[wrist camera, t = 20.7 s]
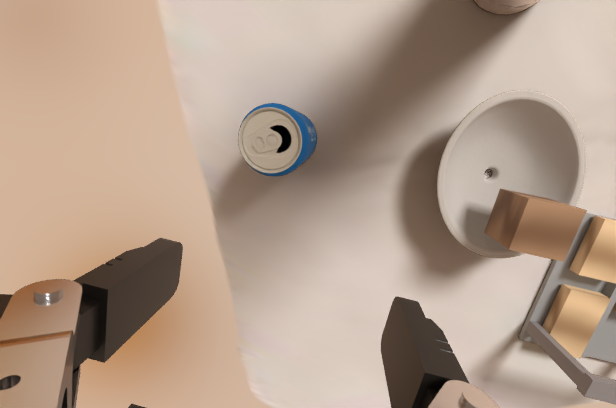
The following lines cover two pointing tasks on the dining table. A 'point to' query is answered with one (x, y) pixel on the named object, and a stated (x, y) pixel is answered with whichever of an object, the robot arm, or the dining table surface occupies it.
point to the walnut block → (534, 224)
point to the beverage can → (276, 139)
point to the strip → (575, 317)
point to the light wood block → (597, 251)
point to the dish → (508, 163)
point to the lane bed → (605, 339)
